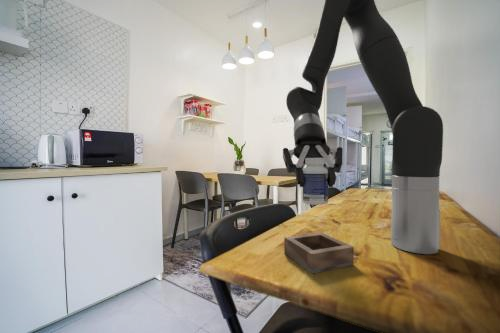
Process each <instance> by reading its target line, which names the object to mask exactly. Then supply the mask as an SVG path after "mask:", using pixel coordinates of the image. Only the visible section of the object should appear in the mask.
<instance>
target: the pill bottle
mask: <svg viewBox="0 0 500 333" xmlns="http://www.w3.org/2000/svg"><path fill="white" fill-rule="evenodd" d="M324 164H325V159H324V158H305V167H304V169H303V177H304V185H303V187H301V190H302V192H301V194H302V195H301V198H302V203H303V204H305V205H306V204H307V205H313V206H315V205H316V206H318V205H319V206H322V205H326V204H328V203H329V186H328V170H327V169H326V168H324Z"/></svg>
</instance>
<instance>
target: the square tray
mask: <svg viewBox="0 0 500 333" xmlns="http://www.w3.org/2000/svg"><path fill="white" fill-rule="evenodd" d="M283 244H284V247H283V248H284V249H283V250H284V251H283V252H284V254H285V255H286V256H287V257H289V258H290V259H292V260H293V261H294V262H296V264H298V265H300V266H301V267H302V268H303V269H305V270H306V271H308V273H310V274H316V273H322V272H325V271H330V270H335V269H339V268H340V269H341V268H346V267H349V266H350V267H351V266H353V265H354V253H355V252H354V249H355V248H354V246H353V245H351V244H349V243H346V242H343V241H341V240H339V239H337V238H334V237H332V236H330V235H328V234H325V233H323V232H314V233H305V234H299V235H293V236H284V242H283Z"/></svg>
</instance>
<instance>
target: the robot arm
mask: <svg viewBox="0 0 500 333" xmlns="http://www.w3.org/2000/svg"><path fill="white" fill-rule="evenodd" d="M322 8H323V9H322V12H321V15H320V20H319V23H318V28H317V31H316V34H315V36H314V37H315V38H314V41H313V44H312V46H311V49H310V52H309V55H308V57H307V60H306V62H305V65H304V68H303V71H302V74H301V76H302V78H303V79H304V80H305V81H306V82H308V83H309V84H310V86H311V90H310V89H307V88H304V87H301V86H295V87H292V88H291V89H290V90H289V91H288V93H287V95H286V101H285V102H286V107H287V110H288V112H289V113H290V115H291V117H292V119H293V124H294V125H293V138H294V148H293V149H288V147H284V148H282V159H283V162H284V165H285V169H286V171H287V172H288V173H290V174H291V173H294V175H295V182H296V185H299V188H302V187H303V185H304V177H303V169H304V168H306V164H305V158H324V159H325V164H324V168H326V169H327V170H328V188H333V187H334V185H336V181H337V176H336V173H337V174H338V173H340V172H341V170H342V169H341V168H342V166H343V148H342V147H341V146H339V147H337V148H336V149H334V148H330V146H329V145H328V144H327V138H326V135H325V131H324V126H323V123H322V121H321V118H320V113H319V111H320V109H321V106H322V102H323V95H324V94H323V93H324V88H325V84H326V79H327V76H328V74H329V71H330V69H331V66H332V64H333V62H334V59H335V55H336V51H337V47H338V42H339V36H340V32H341V27H342V23H343V20H345V21H346V24H348V26H349V29H350V31H351V33H352V34H351V35H352V37H353V43H354V46H355V50H356V54H357V56H358V59H359V61H360V64H361V67H362V68H363V71H364V73H365V75H366V76H367V78H368V81H369V83H370V84H371V86H372V87H373V90H374V91H375V93H376V94H377V96H378V97H379V99H380V101H381V103H382V104H383V108H384V110H385V113H386V116H387V118H388V121H389V126H390V128H391V133H392V155H391V156H392V159H391V218H390V219H391V220H390V221H391V223H390V225H391V226H390V227H391V229H390V244H391V245H392V246H393V247H395V248H397V249H399V250H402V251H404V252H405V251H406V252H410V253H414V254H419V255H420V254H421V255H434V254H437V253H439V249H440V248H441V247H440V246H441V245H440V244H441V243H440V242H441V238H440V237H441V209H440V175H441V174H440V173H441V166H442V162H443V146H444V145H443V144H444V122H443V119H442V117H441V115H440V113H439V112H438V111H436V110H435V109H433V108H431V107H428V106H425V105H423V104H422V101H421V100H420V99H419V96H418V95H417V93H416V90H415V88H414V87H415V86H414V84H413V80H412V79H413V78H412V75H411V71H410V66H409V62H408V58H407V55H406V53H405V50H404V48H403V46H402V43H401V41H400V39H399V37H398V36H397V34H396V32H395V30H394V29H393V28H392V27H391V25H390V24H389V23H388V21H386V20H385V18H384V17H383V16H382V15H381V14H380V12H379V10H378V7H377V4H376V1H375V0H324V5H323V7H322ZM293 156H294V157H296V158H297V159H298V160H297V162H296V163H294V162H293V160H292V158H293ZM330 156H331V157H332V159H333V160H334V163H333V162H332V161H331V159H330Z"/></svg>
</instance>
